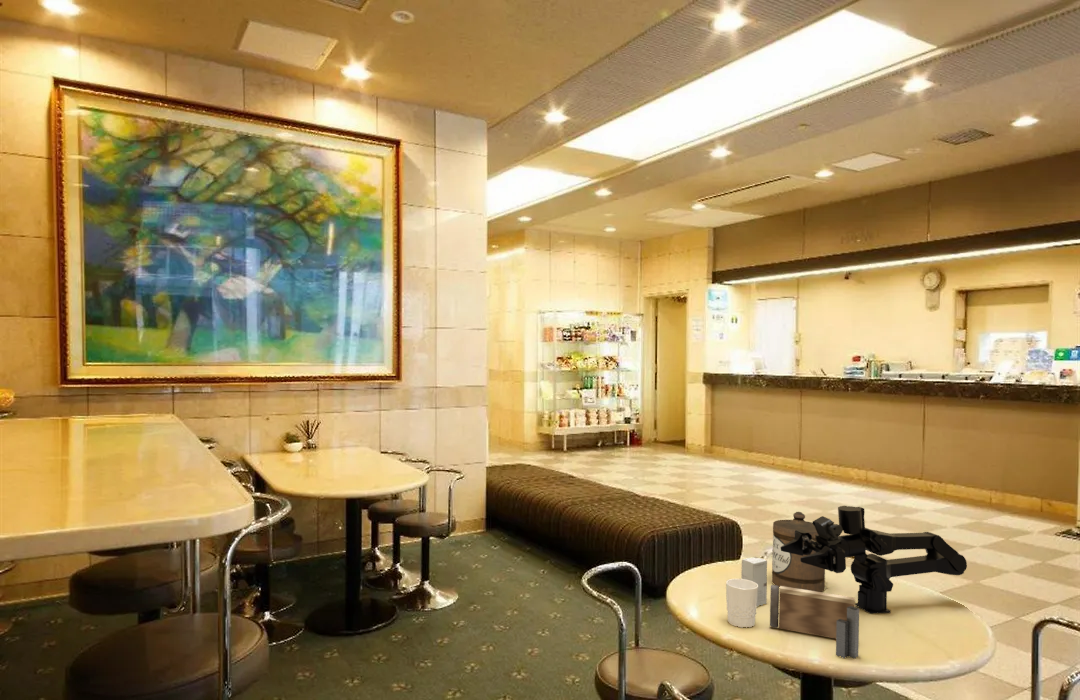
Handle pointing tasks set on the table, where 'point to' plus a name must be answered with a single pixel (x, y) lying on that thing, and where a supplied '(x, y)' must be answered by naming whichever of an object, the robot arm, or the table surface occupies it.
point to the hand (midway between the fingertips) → (790, 554)
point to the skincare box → (756, 576)
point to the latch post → (848, 634)
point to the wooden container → (794, 557)
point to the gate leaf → (807, 610)
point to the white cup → (741, 602)
